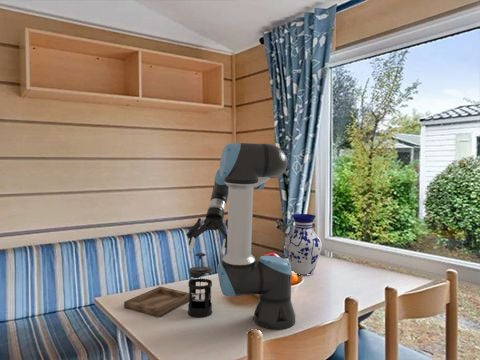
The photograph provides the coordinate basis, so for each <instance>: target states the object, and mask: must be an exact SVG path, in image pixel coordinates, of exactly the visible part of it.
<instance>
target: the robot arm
mask: <svg viewBox="0 0 480 360" xmlns="http://www.w3.org/2000/svg"><path fill="white" fill-rule="evenodd" d="M219 161H220V162H219V169H217V171H216V173H215V175H214V183H213V187H212V192H211V196H210V201H209V205H208V207H207V211H206V215H205V218H204V219H201V218H202V217H199V218H198V219H197V221H196V223H195V224H194V225H193V226H192V227H191V228H190V229H189V230H188V232H187V233H186V237H187V239H188V245H189V246H188V247H189V248H188V252H189V254H190V255H192V254H193V251H194V248H195V244H196V238H198V237H200V235H202V234H203V233H204V232H207V231H208V230H209V231H217V230H218V232H219V233H220V234H221V236H223V242H222V245H221V250H220V251H221V252H220V254H221V256H222V260H221V261H222V262H219V263H218V264H217V275H218V281H219V287H220V291H221V293H222V295H224V296H225V297H241V296H244V297H245V296H255V295H258V300H257V304H256V307H255V309H254V312H253V313H254V314H253V320H254V321H253V322H254V323H255V324H256V325H258V326H259V327H262V328H265V329H269V330H270V329H271V330H284V329H288V328H291V327H293V326H294V325H295V324H296V313H295V310H294V306H293V304H292V297H291V296H292V274H293V273H292V269H291V264H290V262H289V260H288V259H285V258H284V257H280V256H276V255H274V256H273V255H261V256H259V258H258V261H256V257H255V256H254V255H253V254H252V242H253V241H252V240H253V239H252V238H253V237H252V236H253V215H254V214H253V211H254V209H253V208H254V206H253V205H254V190H255V191H256V190H262V189H264V188H265V184H266V182H267V181H269V180H270V179H277V178H279V177H280V176H282V175H283V174H284V173H285V172H286V170H287V168H288V161H289V160H288V158H287V155H286V153H285V152H284V151H283V150H282V149H281V148H280V147H278V146H276V145H274V144H272V143H253V142H252V143H251V142H249V143H248V142H233V143H232V142H231V143H227V144H226V145H224V147H223V149H222V152H221V156H220V160H219ZM227 203H228V204H227ZM226 207H227V219H226V220H224V217H225V212H226ZM223 225H224V226H225V227H226V229H227V233H226V232H225V230H224V229H223V227H222V226H223Z"/></svg>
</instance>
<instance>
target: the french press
mask: <svg viewBox="0 0 480 360" xmlns="http://www.w3.org/2000/svg"><path fill="white" fill-rule="evenodd" d="M206 255H207V254H206V253H204V252H198V253H195V254H194V256H195V257H198V260H199V266H194V267H190V268H188V272H189V277H190V279H189V280H188V284H187V285H188V288H189V289H188V293H189V302H188V303H187V308H188V310H187V315H188V316H190V317H191V318H194V319H195V318H196V319H200V318H201V319H202V318H207V317H210V316H212V314H213V305H212V304H213V303H212V299H211V298H212V287H213V281H212V280H211V279H209V278H208V279H207V278H202V276H203V275H205V274H208V275H210V276H211V275H212V271H213V268H211V267H208V266H203V265H202V263H201V262H202V261H201V260H202V258H203V257H205V256H206ZM201 265H202V266H201ZM197 283H199V285H197ZM201 283H206V285H201ZM197 290H199V292H197ZM201 290H204V292H202V291H201Z"/></svg>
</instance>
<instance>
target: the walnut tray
mask: <svg viewBox="0 0 480 360" xmlns="http://www.w3.org/2000/svg"><path fill="white" fill-rule="evenodd" d="M186 304H189V292H186V291H182V290H178V289H172V288H168V287H163V286H158V287H156V288H153V289H150V290H148V291H146V292H143V293H141V294H139V295H137V296H135V297H132V298H129V299H127V300H125V301H123V308H124V309H127V310H130V311H134V312H138V313H140V314H141V313H142V314H145V315H148V316H153V317H156V318H161V317H163V316H165V315H167V314H169V313H170V312H173V311H174V310H177V309H179V308H180V307H181V306H184V305H186Z"/></svg>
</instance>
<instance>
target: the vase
mask: <svg viewBox="0 0 480 360" xmlns="http://www.w3.org/2000/svg"><path fill="white" fill-rule="evenodd" d="M292 218H293V220H294V225H295V226H294V229H293V230H292V231H291V233H289V235H287V237H286V238H285V242H284V246H285V247H284V248H285V253H286V257H287V260H288V261H289V262H290V264H291V272H292V271H294V272H295V273H297V274H300V275H299V276H301V275H307V274H312V273H313V272H314V273H315V270H316V266H317V264H318V260H319V259H320V255H321V252H322V248H323V244H322V240H321V238H320V237H319V236H318V234H317V233H316V232H315V231H314V228H313V222H314V220H315V219H316V215H315V214H310V213H294V214H292ZM314 273H313V274H314ZM313 274H312V275H313Z"/></svg>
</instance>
